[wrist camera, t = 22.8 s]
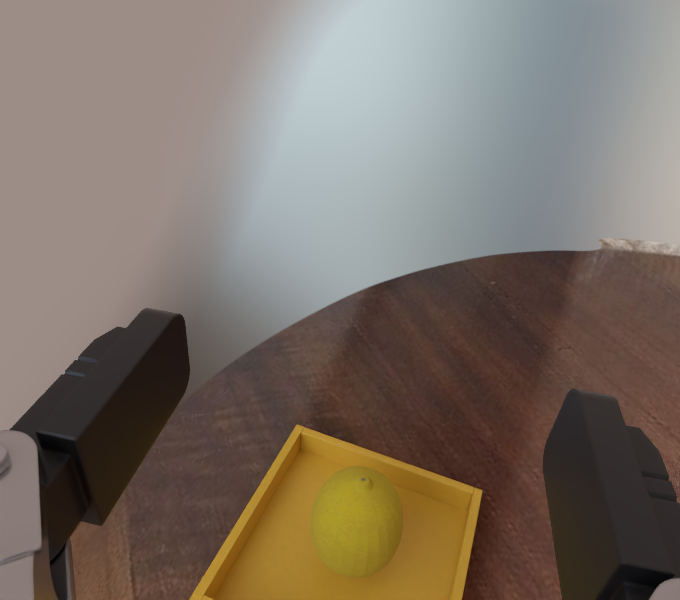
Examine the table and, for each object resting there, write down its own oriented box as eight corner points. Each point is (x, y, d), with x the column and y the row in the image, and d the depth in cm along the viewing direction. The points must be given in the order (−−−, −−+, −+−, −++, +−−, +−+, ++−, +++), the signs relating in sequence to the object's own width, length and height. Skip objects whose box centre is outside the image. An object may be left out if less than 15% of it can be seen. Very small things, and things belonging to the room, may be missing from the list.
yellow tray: (192, 622, 31) (188, 599, 30) (295, 446, 42) (296, 424, 41) (430, 737, 27) (439, 718, 26) (474, 512, 39) (482, 489, 37)
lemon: (390, 522, 37) (408, 444, 32) (395, 606, 32) (416, 528, 28) (310, 516, 37) (317, 437, 32) (303, 599, 32) (310, 520, 28)
